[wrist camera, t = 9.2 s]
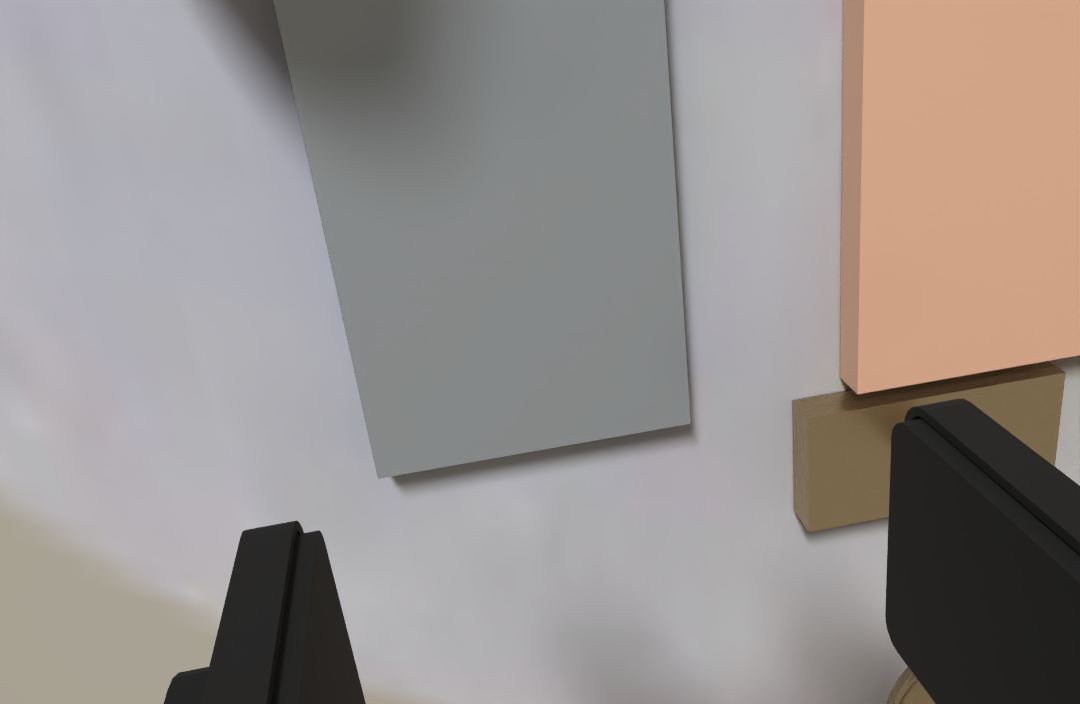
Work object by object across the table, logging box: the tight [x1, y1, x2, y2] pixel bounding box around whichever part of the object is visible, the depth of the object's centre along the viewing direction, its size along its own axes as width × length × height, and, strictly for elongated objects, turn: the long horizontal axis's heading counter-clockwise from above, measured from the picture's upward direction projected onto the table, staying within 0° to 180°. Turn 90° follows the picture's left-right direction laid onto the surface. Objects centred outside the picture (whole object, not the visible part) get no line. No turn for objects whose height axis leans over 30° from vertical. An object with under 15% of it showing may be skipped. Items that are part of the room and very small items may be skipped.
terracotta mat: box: [840, 0, 1080, 394], centre depth 26 cm, size 9×14×1 cm, turn 7°
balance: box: [792, 361, 1065, 704], centre depth 23 cm, size 12×4×16 cm, turn 97°
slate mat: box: [273, 0, 691, 479], centre depth 25 cm, size 9×14×1 cm, turn 7°
